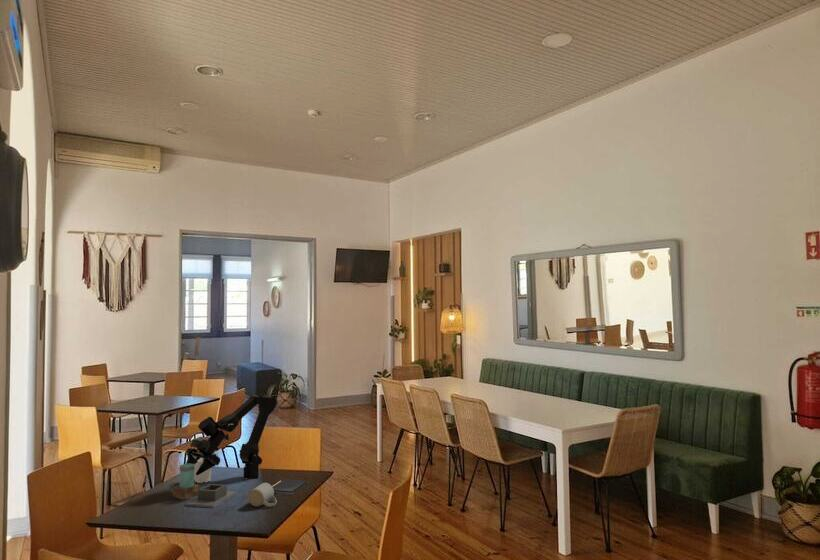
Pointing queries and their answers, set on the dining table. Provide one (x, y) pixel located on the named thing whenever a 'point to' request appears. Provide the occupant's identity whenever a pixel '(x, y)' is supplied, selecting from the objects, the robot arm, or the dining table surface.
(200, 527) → the dining table surface
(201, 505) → the port board
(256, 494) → the ceramic mug
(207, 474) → the white cup
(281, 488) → the grey flat slab
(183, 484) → the plug
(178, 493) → the holster
